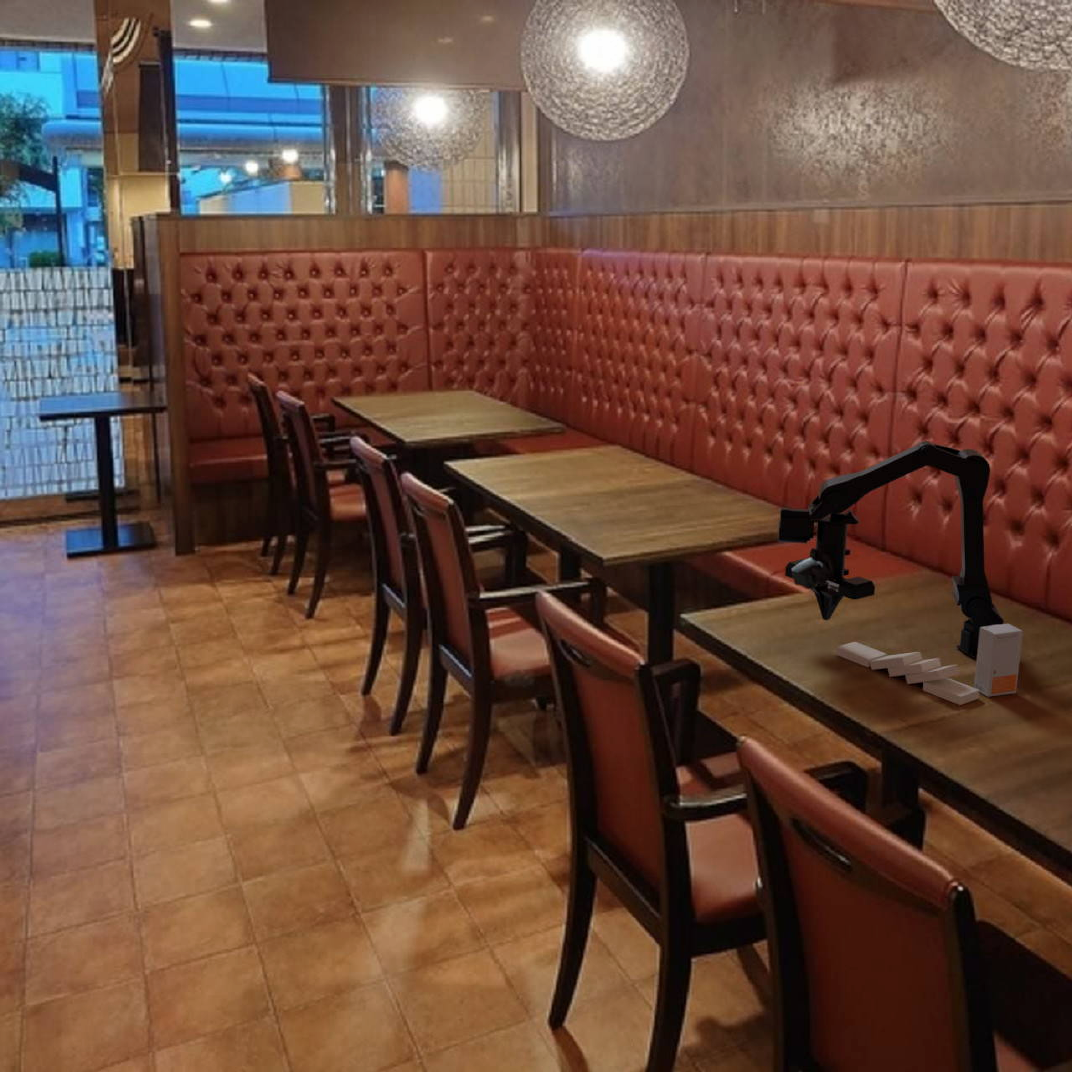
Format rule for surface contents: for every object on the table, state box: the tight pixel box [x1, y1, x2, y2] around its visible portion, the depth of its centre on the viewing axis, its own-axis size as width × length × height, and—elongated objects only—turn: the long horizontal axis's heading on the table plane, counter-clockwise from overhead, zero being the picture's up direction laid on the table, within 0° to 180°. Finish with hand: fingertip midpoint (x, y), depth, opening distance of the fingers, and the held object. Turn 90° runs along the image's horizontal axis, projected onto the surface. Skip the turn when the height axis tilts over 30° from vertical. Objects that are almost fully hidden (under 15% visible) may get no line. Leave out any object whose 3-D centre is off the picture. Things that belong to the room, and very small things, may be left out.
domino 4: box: [904, 664, 961, 685], centre depth 204 cm, size 2×5×8 cm
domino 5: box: [922, 677, 980, 706], centre depth 201 cm, size 2×5×8 cm
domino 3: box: [887, 657, 943, 678], centre depth 208 cm, size 2×5×8 cm
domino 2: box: [870, 651, 923, 671], centre depth 211 cm, size 2×5×8 cm
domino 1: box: [835, 641, 888, 668], centre depth 218 cm, size 2×5×8 cm
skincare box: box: [973, 623, 1024, 698], centre depth 201 cm, size 6×4×12 cm
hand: (826, 619), depth 225 cm, fingers closed
